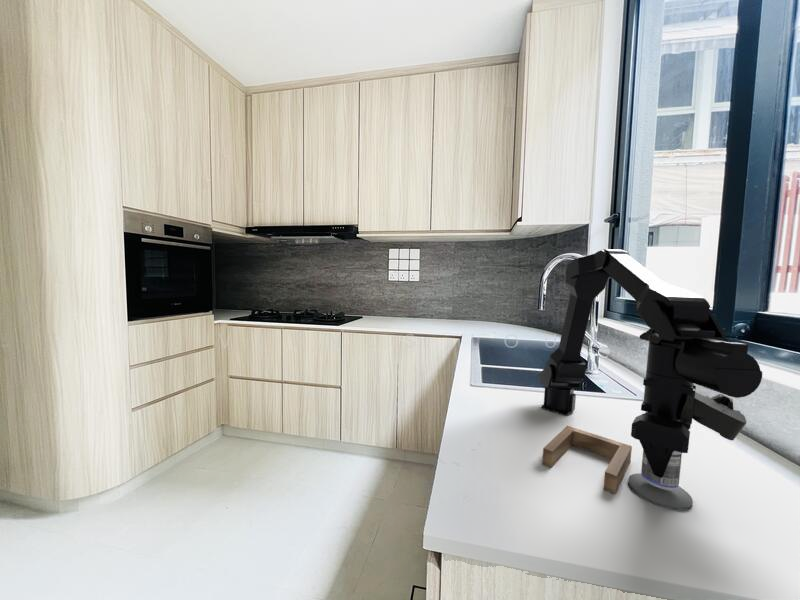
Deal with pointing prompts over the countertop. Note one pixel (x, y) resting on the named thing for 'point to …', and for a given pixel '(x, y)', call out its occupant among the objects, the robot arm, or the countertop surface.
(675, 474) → the pill bottle
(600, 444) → the nook
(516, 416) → the countertop surface
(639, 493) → the coaster
